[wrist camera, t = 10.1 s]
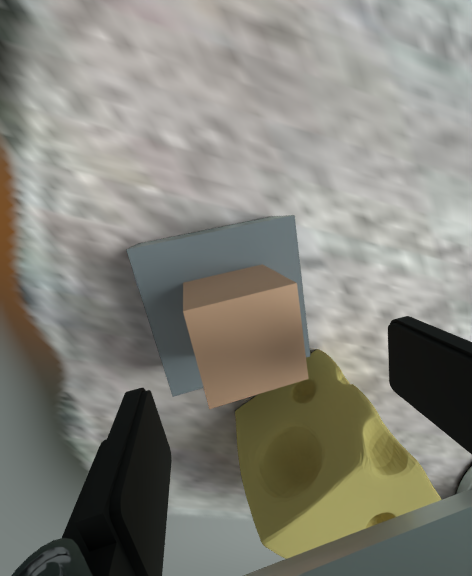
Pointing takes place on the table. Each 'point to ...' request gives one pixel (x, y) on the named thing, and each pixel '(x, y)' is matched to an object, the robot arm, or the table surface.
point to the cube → (245, 333)
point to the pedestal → (200, 264)
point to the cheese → (322, 462)
